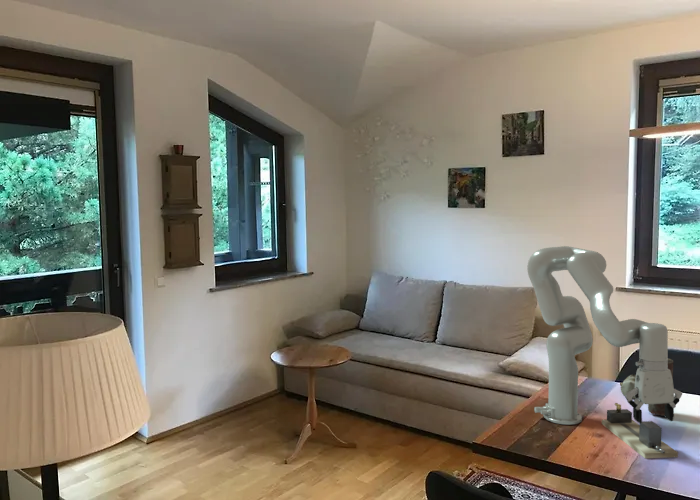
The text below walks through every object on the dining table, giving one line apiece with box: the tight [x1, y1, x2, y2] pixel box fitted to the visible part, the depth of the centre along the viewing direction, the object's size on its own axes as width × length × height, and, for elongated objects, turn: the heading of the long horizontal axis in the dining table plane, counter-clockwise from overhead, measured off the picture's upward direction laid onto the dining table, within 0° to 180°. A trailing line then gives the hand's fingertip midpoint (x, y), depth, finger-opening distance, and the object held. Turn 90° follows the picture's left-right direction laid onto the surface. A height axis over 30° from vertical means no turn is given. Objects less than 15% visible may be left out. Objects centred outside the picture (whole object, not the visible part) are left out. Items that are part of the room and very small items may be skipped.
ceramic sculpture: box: [619, 373, 636, 400], centre depth 222 cm, size 11×9×15 cm
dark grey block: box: [639, 420, 665, 453], centre depth 172 cm, size 9×4×6 cm, turn 3°
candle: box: [647, 358, 674, 417], centre depth 201 cm, size 8×7×20 cm
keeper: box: [606, 402, 633, 423], centre depth 193 cm, size 4×7×6 cm, turn 93°
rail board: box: [601, 418, 679, 459], centre depth 182 cm, size 26×10×2 cm, turn 3°
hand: (653, 420), depth 173 cm, fingers open, 9 cm apart
